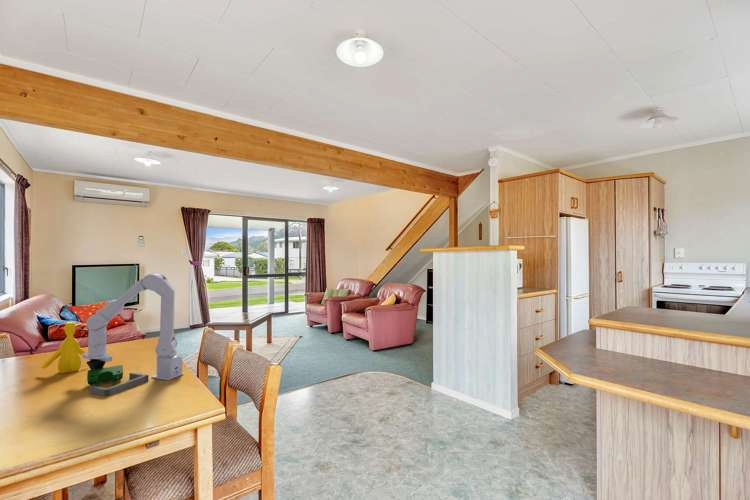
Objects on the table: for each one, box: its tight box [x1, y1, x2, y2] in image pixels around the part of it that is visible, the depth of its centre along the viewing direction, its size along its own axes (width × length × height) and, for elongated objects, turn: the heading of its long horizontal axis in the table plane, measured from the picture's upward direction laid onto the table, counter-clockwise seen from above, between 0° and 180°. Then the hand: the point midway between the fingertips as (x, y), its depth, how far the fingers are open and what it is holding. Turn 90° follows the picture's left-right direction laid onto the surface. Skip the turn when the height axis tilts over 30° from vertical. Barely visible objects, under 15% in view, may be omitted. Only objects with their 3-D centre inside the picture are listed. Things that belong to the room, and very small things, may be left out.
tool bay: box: [88, 371, 149, 398], centre depth 137 cm, size 9×16×2 cm, turn 161°
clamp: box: [86, 364, 124, 387], centre depth 139 cm, size 12×6×9 cm, turn 119°
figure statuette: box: [40, 321, 91, 374], centre depth 154 cm, size 18×8×22 cm, turn 135°
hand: (96, 377), depth 141 cm, fingers closed, pressing on clamp
